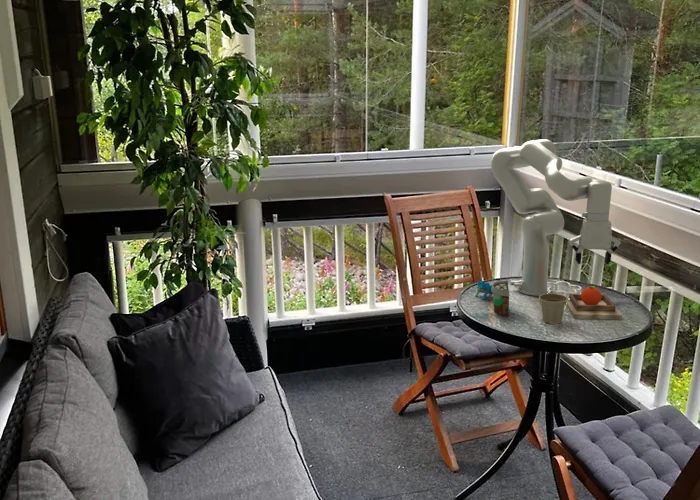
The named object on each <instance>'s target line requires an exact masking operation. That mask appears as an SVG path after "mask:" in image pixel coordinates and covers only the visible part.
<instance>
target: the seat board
mask: <svg viewBox="0 0 700 500" xmlns="http://www.w3.org/2000/svg"><path fill="white" fill-rule="evenodd" d="M568 296H569V298H570V300H567V301H566V303H567V306H566V307H567V309H568V311H569V312H570V313H571V314H570V315H572V317H573V319H579V320H580V319H583V320H584V319H585V320H586V319H589V320H592V319H593V320H623V314H622V313H621V311H620V309H618V308H617V306H616V305H615V304H614V303H613V301H612V300H611V299H610V298H609V296H608V295H607V294H602V293H601V300H600V302H599V303H598V304H596V305H586V304H585V303H584V302H583V301H582V299H581V293H569V295H568Z"/></svg>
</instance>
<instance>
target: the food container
mask: <svg viewBox="0 0 700 500" xmlns="http://www.w3.org/2000/svg"><path fill="white" fill-rule="evenodd" d="M492 285H493V286H492V289H491V291H492V292H493V294H492V298H493V299H492V300H493V313H495V314H496V315H498V316H503V317H509V311H510V310H509V309H510V290H509V289H510V288H509V280H500V281H496V282H494V283H493V284H492Z"/></svg>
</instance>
